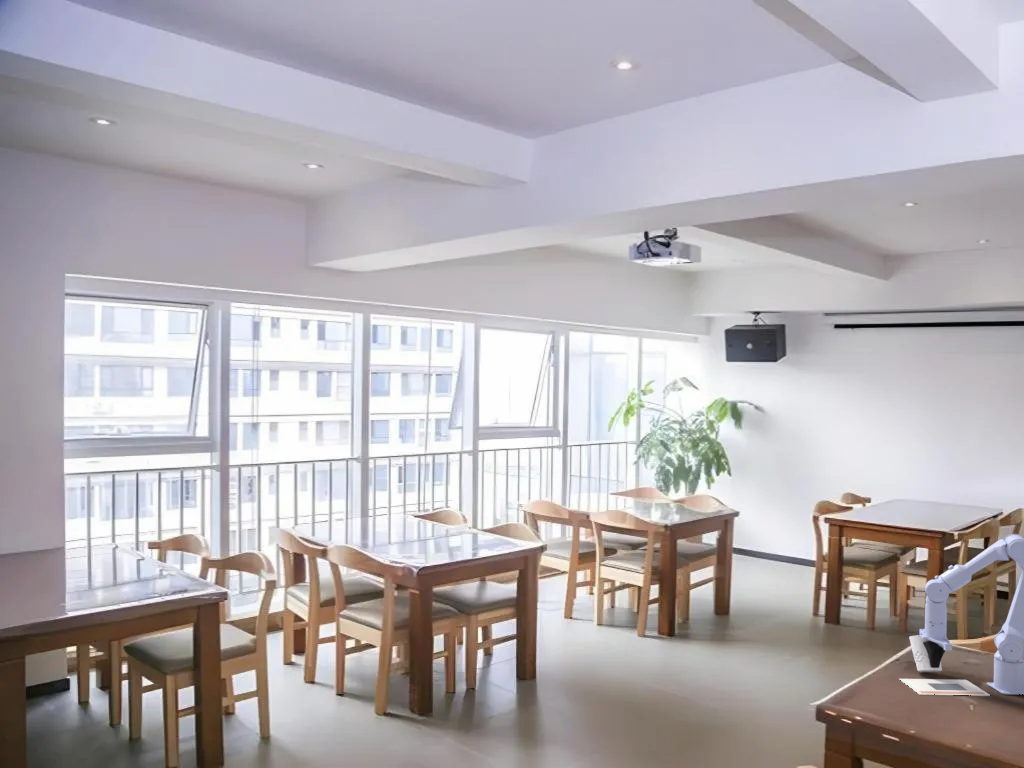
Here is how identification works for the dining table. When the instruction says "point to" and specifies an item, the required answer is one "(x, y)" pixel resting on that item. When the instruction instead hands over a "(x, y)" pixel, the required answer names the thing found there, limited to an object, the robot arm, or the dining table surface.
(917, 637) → the white cup
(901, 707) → the dining table surface
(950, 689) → the menu card
